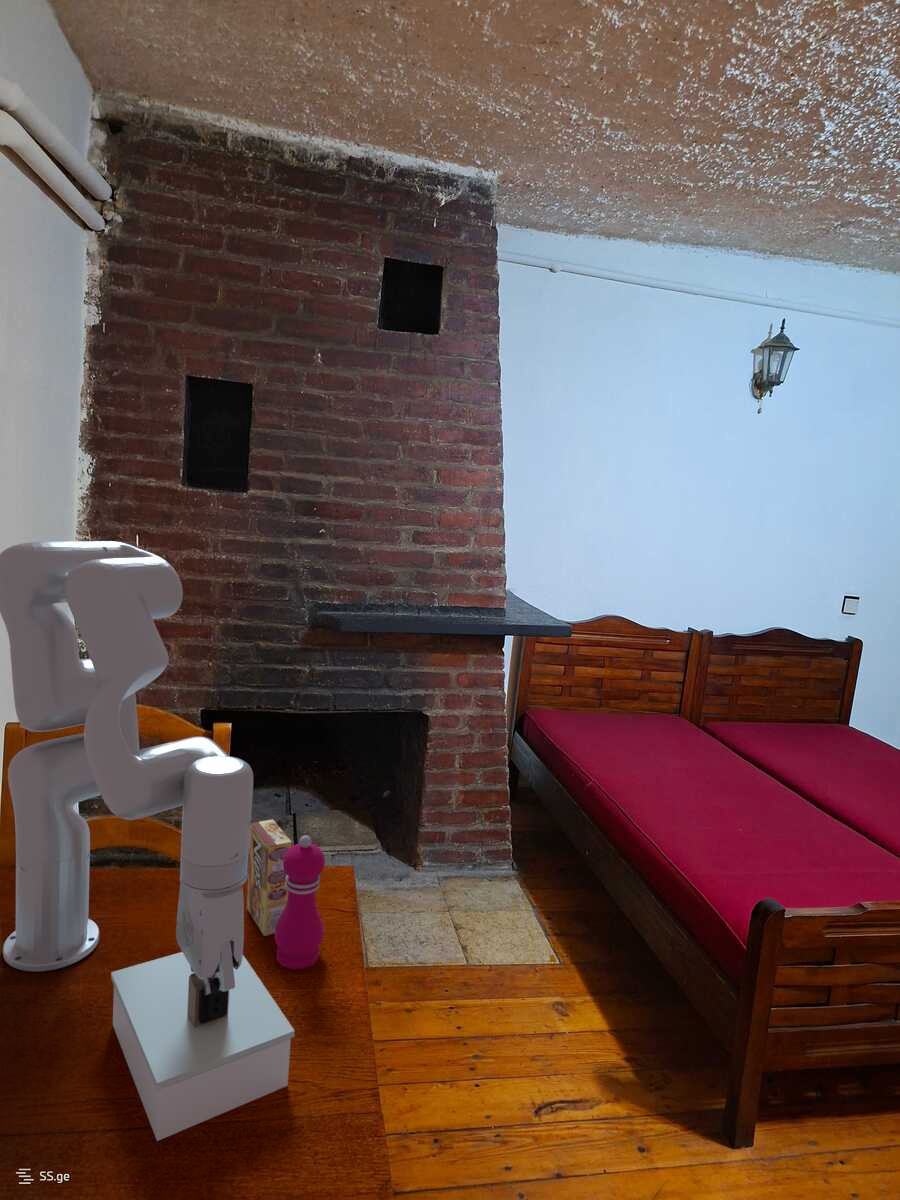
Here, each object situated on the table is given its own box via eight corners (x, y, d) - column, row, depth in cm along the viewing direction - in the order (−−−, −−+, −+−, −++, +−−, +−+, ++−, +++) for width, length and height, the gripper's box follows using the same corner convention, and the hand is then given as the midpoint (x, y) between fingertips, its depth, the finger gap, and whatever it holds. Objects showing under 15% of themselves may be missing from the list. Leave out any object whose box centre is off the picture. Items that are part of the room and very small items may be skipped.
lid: (110, 978, 96) (112, 936, 96) (231, 942, 106) (233, 904, 105) (156, 1089, 80) (158, 1040, 79) (294, 1036, 89) (297, 992, 88)
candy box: (288, 931, 122) (294, 841, 119) (262, 937, 119) (268, 846, 117) (268, 903, 129) (274, 818, 127) (244, 909, 127) (249, 822, 124)
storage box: (112, 1030, 97) (114, 980, 96) (227, 992, 106) (229, 946, 105) (156, 1147, 82) (158, 1089, 81) (287, 1091, 91) (290, 1038, 89)
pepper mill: (278, 979, 110) (286, 850, 107) (268, 950, 117) (276, 827, 113) (326, 970, 113) (336, 844, 110) (315, 942, 119) (323, 822, 116)
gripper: (161, 842, 92) (156, 980, 94) (205, 909, 79) (198, 1067, 82) (222, 829, 96) (215, 962, 99) (274, 891, 83) (264, 1042, 86)
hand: (207, 1008), depth 90 cm, fingers closed on lid, 2 cm apart
